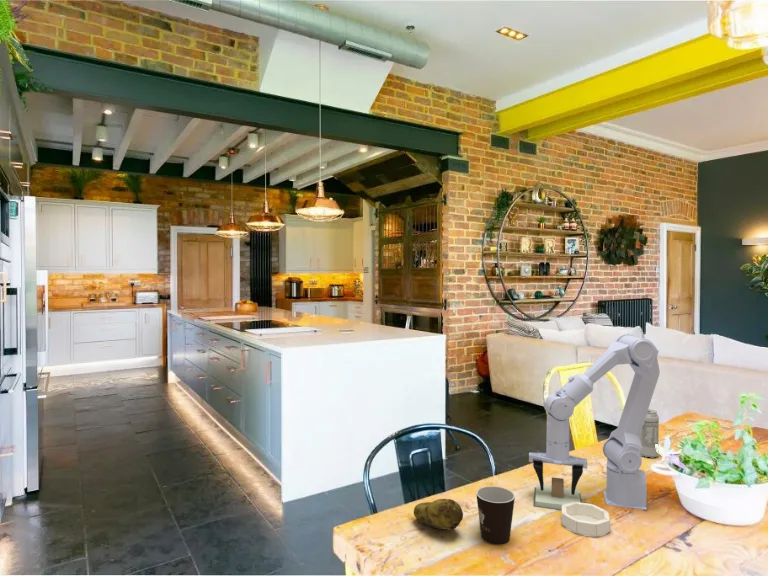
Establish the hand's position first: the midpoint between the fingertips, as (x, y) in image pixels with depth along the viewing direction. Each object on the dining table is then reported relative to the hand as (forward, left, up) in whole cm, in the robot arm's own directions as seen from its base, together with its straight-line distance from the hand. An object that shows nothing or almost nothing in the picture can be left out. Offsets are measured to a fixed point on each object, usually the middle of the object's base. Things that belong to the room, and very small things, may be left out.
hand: (557, 491), depth 130 cm
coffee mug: (+14, +22, -3) cm, 26 cm away
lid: (0, 0, -2) cm, 2 cm away
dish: (-6, +12, -3) cm, 14 cm away
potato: (+27, +24, -3) cm, 36 cm away
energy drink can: (-29, -44, -3) cm, 53 cm away
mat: (0, 0, -3) cm, 3 cm away
